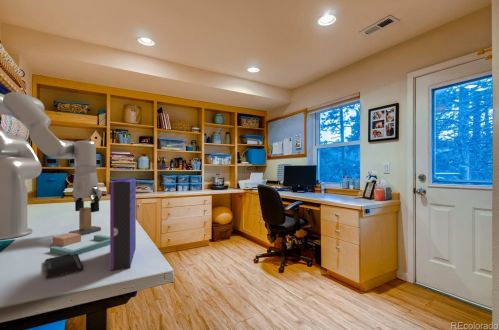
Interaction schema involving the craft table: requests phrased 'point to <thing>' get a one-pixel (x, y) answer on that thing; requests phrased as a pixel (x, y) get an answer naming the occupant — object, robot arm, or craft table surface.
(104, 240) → the frame
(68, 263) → the phone
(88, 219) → the pusher
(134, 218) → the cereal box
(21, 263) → the craft table surface
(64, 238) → the tile
